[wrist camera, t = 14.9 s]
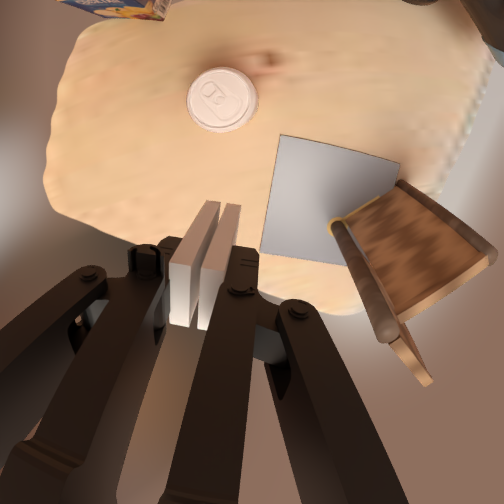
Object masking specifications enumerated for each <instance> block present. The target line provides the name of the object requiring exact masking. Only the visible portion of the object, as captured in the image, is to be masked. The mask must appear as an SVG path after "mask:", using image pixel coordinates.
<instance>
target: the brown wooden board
mask: <svg viewBox="0 0 504 504" xmlns="http://www.w3.org/2000/svg"><path fill="white" fill-rule="evenodd" d="M359 251H360V250H359ZM360 253H361V252H360ZM361 255H362V257H363V258H364V260H365V262H366V264H367V266H368V267H369V269H370V271H371V273H372V275H373V277H374V279H375V281H376V282H377V284H378V286H379V288H380V290H381V292H382V294H383V296H384V298H385V300H386V302H387V304H388V306H389V308H390V310H391V312H392V314H393V316H394V318H395V320H396V322H397V324H398V326H399V329H400V333H399V335H398V337H397V338H396V339H395V340H393V341H391V342H389V343H388V344H389V346H390V347H391V348H392V349H393V350H394V352H395V353H396V354H397V355H398V356H399V357H400V359H401V360H402V361H403V362H404V363H405V365H406V366H407V367H408V368H409V369H410V370H411V372H412V373H413V374H414V375H415V376H416V378H417V379H418V380H419V381H420V382H421V384H422V385H423V386H424V387H426V386H428V385H429V384H431V383H432V382H433V379H432V377H431V375H430V374H429V372H428V371H427V369H426V367H425V365H424V362H423V360H422V358H421V356H420V354H419V351H418V349H417V347H416V345H415V343H414V341H413V339H412V337H411V335H410V333H409V331H408V329H407V327H406V325H405V323H402V324H400V322H399V320H398V318H397V315H396V313H395V311H394V309H395V307H394V305H393V303H392V302H391V300H390V298H389V296H388V294H387V292H386V290H385V288H384V287H383V285H382V283H381V281H380V279H379V277H378V276H377V274H376V272H375V270H374V268H373V267H372V266H371V264H370V263H369V262H368V261H367V259H366V258H365V257H364V255H363V254H362V253H361Z"/></svg>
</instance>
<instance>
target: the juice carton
mask: <svg viewBox="0 0 504 504" xmlns="http://www.w3.org/2000/svg"><path fill="white" fill-rule="evenodd" d="M56 1H59V2H62V3H65V4H69V5H71V6H74V7H77V8H80V9H83V10H85V11H88V12H90V13H93V14H96V15H98V16H101V17H103V18H128V19H145V20H156V21H164V19H165V16H166V14H167V11H168V9H169V7H170V4H171V2H172V0H56Z"/></svg>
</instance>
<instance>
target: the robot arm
mask: <svg viewBox="0 0 504 504" xmlns="http://www.w3.org/2000/svg"><path fill="white" fill-rule="evenodd" d="M402 1H405V2H407V3H410V4H414V5H430V4H432V3H435V2H437V1H439V0H402ZM460 1H461V3H462V4H463V6H464V7H465V9H466V10H467V12H468V13H469V15H470V16H471V18H472V20H473V21H474V23H475V25H476V26H477V28H478V30H479V31H480V33H481V35H482V39H483V41H484V42H485V44H486V45H487V46H488V48H489V49H490V51H491V53H492V55H493V57H494V59H495V60H496V61H497V62H498V63H499V64H500V65H501V66H502V67H504V0H460ZM220 204H221V202H216V201H209V200H206V202H205V203H204V205H203V207H202V208H201V210H200V211H199V213H198V215H197V216H196V218H195V219H194V221H193V223H192V224H191V226H190V228H189V229H188V231H187V233H186V234H185V236H184V237H183V238H178V237H172V236H168V237H166V238H164V239H163V240H161V241H160V242H159V244H158V245H157V246H156V245H152V244H141V245H136V246H134V247H131V248H130V249H129V250H128V265H129V272H128V273H127V275H126V277H121V278H107V273H106V271H105V269H103V268H102V267H99V266H95V265H92V266H91V265H90V266H85V267H81V268H80V269H78V270H76V271H75V272H73V273H72V274H70V275H69V276H68V277H67V278H65V279H64V280H62V281H61V282H60V283H58V284H57V285H56V286H54V287H53V288H52V289H50V290H49V291H48V292H47V293H45V294H44V295H43V296H41V297H40V298H39V299H38V300H36V301H35V302H34V303H33V304H31V305H30V306H29V307H27V308H26V309H25V310H24V311H22V312H21V313H20V314H19V315H18V316H16V317H15V318H14V319H13V320H12V321H10V322H9V323H8V324H7V325H6V326H5V327H3V328H2V329H1V330H0V469H1V468H2V467H3V466H4V465H5V466H4V468H3V471H2V473H1V476H0V504H117V499H116V490H117V486H118V482H119V478H120V474H121V471H122V467H123V464H124V460H125V456H126V453H127V450H128V446H129V443H130V440H131V436H132V433H133V430H134V426H135V423H136V420H137V417H138V414H139V410H140V407H141V404H142V401H143V398H144V395H145V392H146V389H147V386H148V382H149V380H150V377H151V374H152V371H153V368H154V365H155V362H156V359H157V357H158V354H159V351H160V348H161V345H162V342H163V340H164V337H165V334H166V320H167V318H168V316H169V314H170V323H171V324H176V325H181V326H186V327H189V325H190V322H191V319H192V316H193V313H194V310H195V307H196V304H197V301H198V298H199V310H198V329H202V330H207V332H206V336H205V340H204V343H203V347H202V350H201V354H200V358H199V361H198V365H197V368H196V372H195V376H194V379H193V383H192V387H191V390H190V394H189V398H188V402H187V405H186V409H185V413H184V417H183V421H182V425H181V429H180V432H179V437H178V441H177V444H176V449H175V452H174V456H173V460H172V464H171V468H170V472H169V477H168V481H167V484H166V488H165V491H164V493H163V494H162V496H161V497H160V499H159V502H158V504H238V496H239V488H240V478H241V469H242V460H243V450H244V441H245V431H246V422H247V411H248V402H249V392H250V381H251V371H252V361H253V357H254V358H256V359H259V360H262V361H264V367H265V370H266V374H267V378H268V382H269V385H270V389H271V393H272V397H273V401H274V405H275V408H276V412H277V416H278V420H279V423H280V427H281V431H282V434H283V438H284V441H285V445H286V449H287V453H288V456H289V460H290V463H291V467H292V471H293V474H294V477H295V481H296V485H297V488H298V492H299V496H300V499H301V502H302V504H409V503H408V500H407V498H406V496H405V493H404V491H403V489H402V486H401V484H400V482H399V479H398V477H397V475H396V473H395V470H394V468H393V466H392V464H391V461H390V459H389V457H388V455H387V452H386V450H385V448H384V446H383V444H382V442H381V439H380V437H379V435H378V433H377V431H376V429H375V426H374V424H373V422H372V420H371V418H370V416H369V414H368V412H367V410H366V407H365V405H364V403H363V401H362V399H361V397H360V395H359V393H358V391H357V389H356V387H355V385H354V383H353V381H352V378H351V376H350V374H349V372H348V370H347V368H346V366H345V364H344V362H343V360H342V358H341V356H340V354H339V352H338V350H337V348H336V347H335V344H334V342H333V341H332V338H331V336H330V334H329V332H328V330H327V328H326V327H325V325H324V322H323V321H322V319H321V317H320V315H319V313H318V311H317V310H316V308H315V307H314V306H312V305H311V304H309V303H308V302H305V301H303V300H298V299H289V300H285V301H284V302H282V303H281V304H280V306H278V305H276V304H273V303H271V302H268V301H267V300H265V299H264V298H262V296H261V295H260V294H259V292H258V289H257V286H258V270H259V254H258V252H257V251H256V249H254V248H248V247H241V246H236V239H237V232H238V225H239V218H240V211H241V205H236V204H229V203H227V204H226V207H225V209H224V212H223V214H222V216H221V219H220V221H219V212H220ZM218 221H219V224H218ZM79 315H80V316H81V321H80V322H78V323H77V324H76V322H75V319H76V318H77V317H78V316H79ZM42 417H43V418H42ZM41 418H42V420H41V422H40V424H39V426H38V428H37V431H36V433H35V435H34V436H33V438H31V439H30V440H27V441H23V440H24V439H25V438H26V437H27V435H28V434H29V433H30V431H31V430H32V429H33V428H34V427H35V425H36V424H37V423H38V422H39V420H40V419H41Z"/></svg>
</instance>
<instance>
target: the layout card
mask: <svg viewBox="0 0 504 504" xmlns="http://www.w3.org/2000/svg"><path fill="white" fill-rule="evenodd" d="M399 167H400V164H398V163H395V162H392V161H389V160H385V159H382V158H378V157H375V156H371V155H368V154H364V153H360V152H357V151H353V150H349V149H345V148H341V147H337V146H332V145H328V144H324V143H319V142H315V141H310V140H305V139H300V138H295V137H290V136H284V135H281V136H280V141H279V147H278V153H277V158H276V164H275V169H274V175H273V181H272V186H271V192H270V197H269V203H268V208H267V214H266V219H265V225H264V230H263V236H262V241H261V247H260V253H266V254H272V255H278V256H285V257H291V258H297V259H304V260H310V261H316V262H323V263H329V264H336V265H342V266H347V264H346V262H345V260H344V257H343V255H342V253H341V251H340V249H339V246H338V244H337V242H336V240H335V238H334V236H333V233H332V231H331V228H330V227H331V224H332V223H333V222H334V221H341V222H343V224H344V225H345V227H346V229H347V230H348V232H349V234H350V236H351V237H352V239H353V241H354V242H355V244H356V246H357V248H358V249H359V250H360V252H361V253H362V254H363V255H364V257H365V258H366V259H367V261H368V262H370V261H369V260H368V258H367V256H366V255H365V253H364V251H363V249H362V248H361V246H360V244H359V243H358V241H357V239H356V238H355V236H354V234H353V233H352V231H351V229H350V228H349V226H348V225H347V223H346V221H345V219H346V218H348V217H350V216H351V215H353V214H354V213H356V212H358V211H359V210H361V209H362V208H364V207H366V206H367V205H369V204H370V203H372V202H374V201H375V200H377V199H378V198H380V197H381V196H383V195H384V194H386V193H387V192H389V191H390V190H392V189H394V185H395V182H396V178H397V174H398V171H399Z"/></svg>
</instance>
